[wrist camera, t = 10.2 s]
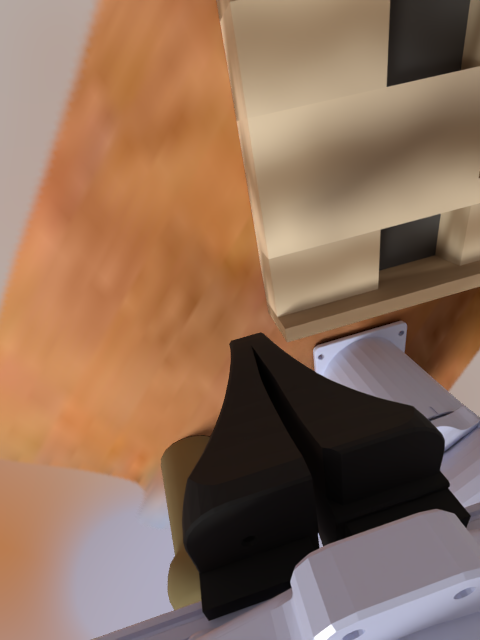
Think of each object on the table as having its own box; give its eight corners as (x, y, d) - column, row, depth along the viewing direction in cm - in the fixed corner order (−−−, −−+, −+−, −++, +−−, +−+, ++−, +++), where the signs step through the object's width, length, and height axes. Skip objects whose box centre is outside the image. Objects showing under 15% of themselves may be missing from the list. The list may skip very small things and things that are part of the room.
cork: (213, 426, 28) (240, 572, 18) (235, 464, 31) (268, 606, 21) (148, 452, 28) (142, 614, 18) (177, 488, 31) (185, 641, 21)
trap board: (513, 243, 25) (569, 260, 21) (268, 312, 23) (287, 342, 20) (600, -81, 16) (718, -140, 13) (215, -9, 14) (231, -54, 11)
